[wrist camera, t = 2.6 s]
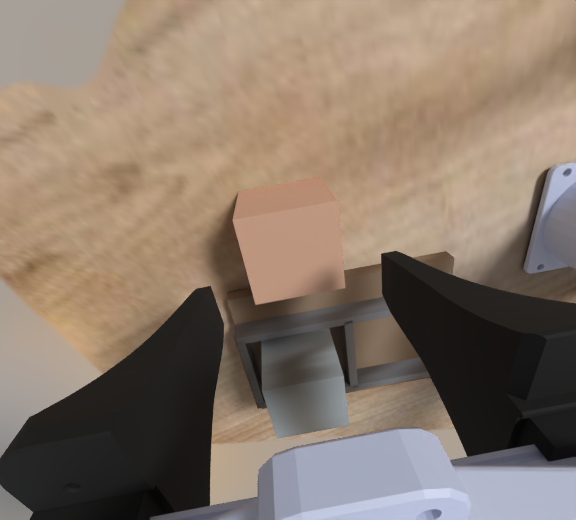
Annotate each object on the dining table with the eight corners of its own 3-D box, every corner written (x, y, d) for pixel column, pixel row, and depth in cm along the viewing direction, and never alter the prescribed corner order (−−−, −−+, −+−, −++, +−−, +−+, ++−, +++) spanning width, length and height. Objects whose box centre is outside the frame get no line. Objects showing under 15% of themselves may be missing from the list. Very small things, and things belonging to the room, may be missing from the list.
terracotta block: (319, 176, 18) (337, 200, 14) (327, 248, 21) (345, 288, 16) (238, 191, 18) (232, 220, 14) (256, 261, 21) (255, 304, 16)
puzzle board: (446, 251, 22) (506, 300, 16) (434, 366, 27) (476, 430, 22) (228, 292, 22) (218, 354, 16) (262, 398, 27) (262, 470, 22)
